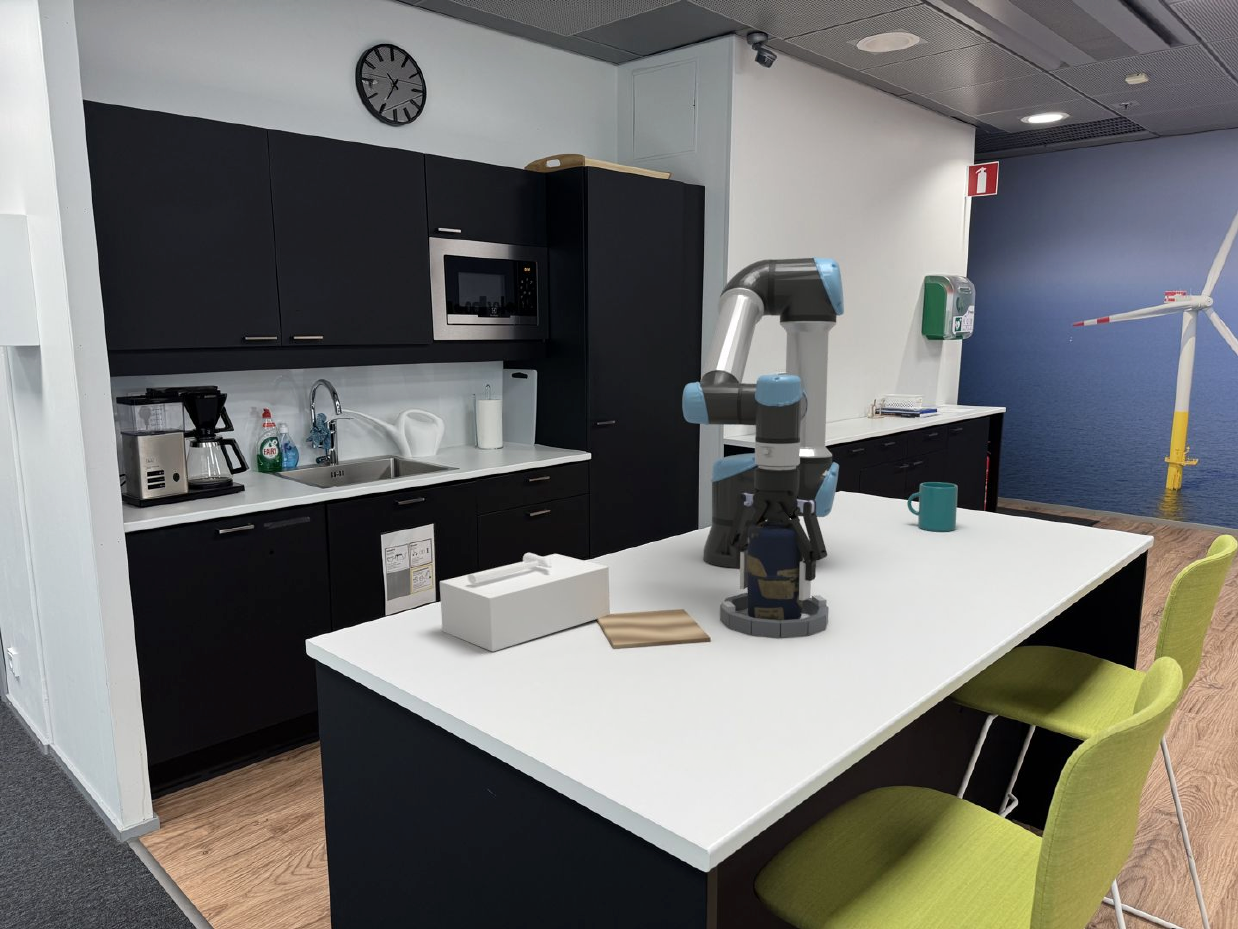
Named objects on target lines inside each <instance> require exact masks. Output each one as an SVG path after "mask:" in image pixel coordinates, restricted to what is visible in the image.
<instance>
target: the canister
mask: <svg viewBox="0 0 1238 929" xmlns="http://www.w3.org/2000/svg"><path fill="white" fill-rule="evenodd" d="M801 561H804V558H803V556H802V554H801V553H800V551H799V549H798V547H797V545H796V534H795V532H794V531H793V530H792V529H789V528H787V527H786V526H785V525H784V523H783V522H777V521H774V520H770V521H768V520H765V521H764V522H761V523H760V524H752V525H750V527H749V528H748V571H747V588H746V589H747V591H746V593H748V607H747V609H746V614H747V616H749V617H753V618H758V619H769V620H793V619H802V615H803V612H802V600H799V576H800V562H801Z"/></svg>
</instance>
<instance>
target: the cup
mask: <svg viewBox="0 0 1238 929" xmlns="http://www.w3.org/2000/svg"><path fill="white" fill-rule="evenodd" d="M958 487H959V486H958V485H957V484H955V483H950V482H938V481H933V482H932V481H930V482H929V481H928V482H922V483H920V484H919V492H915V493H912V494H911V495H910V496H909V498H908V499H907V503H906V504H907V508H908V511H909V512H911V514H913V515H915V516H917V518H918V519H917V520H918V523H917V525H918V528H920V529H921V528H922V529H921V530H924V531H928V532H942V533H943V532H951V531H954V530H955V529H956V527H957V526H956V525H957V510H958V509H957V508H958V507H957V506H958V491H959V489H958ZM915 498H918V511H917V510H915V509H914V507H913V505H912V501H913V499H915Z"/></svg>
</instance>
